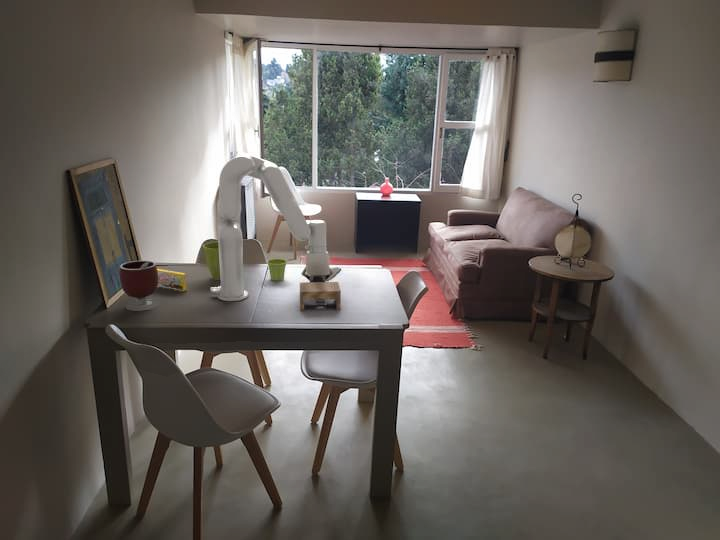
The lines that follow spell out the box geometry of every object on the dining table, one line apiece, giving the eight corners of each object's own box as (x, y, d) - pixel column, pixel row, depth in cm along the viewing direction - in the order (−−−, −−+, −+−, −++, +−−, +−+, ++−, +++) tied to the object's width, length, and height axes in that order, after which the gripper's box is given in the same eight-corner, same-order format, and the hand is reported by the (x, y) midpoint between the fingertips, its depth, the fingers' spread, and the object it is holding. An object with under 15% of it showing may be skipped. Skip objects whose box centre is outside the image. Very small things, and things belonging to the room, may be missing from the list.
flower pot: (223, 271, 263) (221, 239, 259) (244, 277, 255) (243, 244, 250) (198, 278, 251) (196, 245, 247) (219, 285, 243) (217, 250, 239)
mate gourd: (116, 306, 214) (111, 257, 209) (149, 297, 225) (145, 251, 219) (136, 316, 205) (130, 265, 199) (169, 307, 215) (165, 258, 209)
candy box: (154, 287, 238) (152, 269, 236) (157, 286, 240) (156, 268, 238) (183, 292, 233) (182, 274, 230) (187, 291, 234) (185, 272, 232)
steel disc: (314, 310, 215) (314, 307, 214) (313, 306, 219) (313, 302, 219) (326, 310, 215) (326, 306, 215) (326, 305, 220) (326, 302, 220)
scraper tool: (315, 305, 219) (315, 289, 217) (312, 289, 239) (312, 274, 237) (324, 305, 220) (324, 288, 218) (321, 289, 240) (321, 274, 238)
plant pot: (291, 278, 255) (291, 260, 252) (278, 283, 247) (278, 265, 245) (276, 275, 260) (276, 257, 257) (263, 279, 252) (262, 261, 249)
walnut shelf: (300, 310, 214) (300, 291, 211) (299, 300, 225) (299, 282, 223) (340, 310, 216) (340, 291, 213) (338, 300, 227) (338, 281, 225)
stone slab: (308, 283, 254) (328, 282, 251) (308, 277, 253) (327, 277, 250) (325, 271, 274) (343, 270, 271) (324, 265, 274) (342, 265, 271)
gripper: (298, 251, 228) (298, 292, 233) (337, 250, 230) (337, 291, 235) (297, 246, 235) (298, 286, 240) (336, 246, 237) (335, 286, 242)
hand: (317, 288), depth 238 cm, fingers closed on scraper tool, 4 cm apart
